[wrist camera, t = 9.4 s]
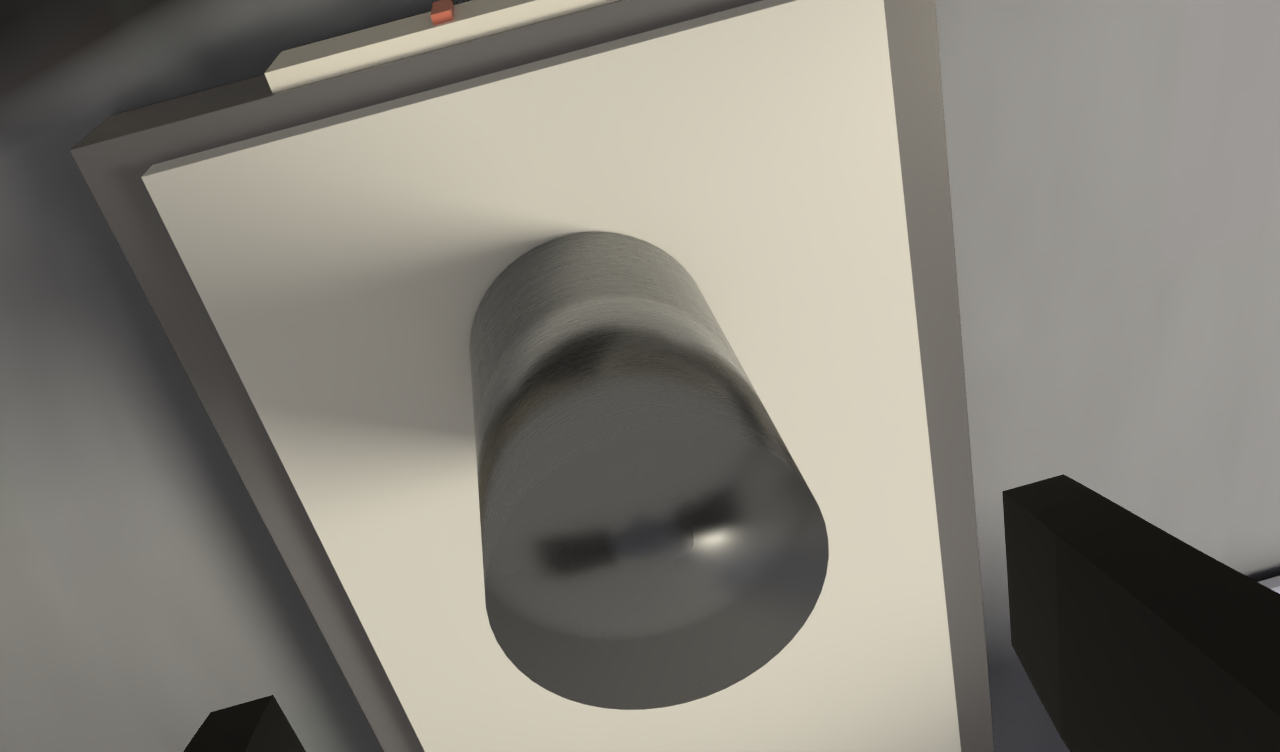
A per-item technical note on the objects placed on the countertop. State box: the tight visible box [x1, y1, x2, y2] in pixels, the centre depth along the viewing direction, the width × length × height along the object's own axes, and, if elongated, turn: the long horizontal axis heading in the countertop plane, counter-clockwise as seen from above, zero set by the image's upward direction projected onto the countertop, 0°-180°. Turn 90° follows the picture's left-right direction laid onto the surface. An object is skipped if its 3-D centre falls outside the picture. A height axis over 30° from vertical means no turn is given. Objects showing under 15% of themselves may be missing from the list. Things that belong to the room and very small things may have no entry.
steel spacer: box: [469, 232, 829, 710], centre depth 14 cm, size 4×4×6 cm
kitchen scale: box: [70, 0, 994, 752], centre depth 20 cm, size 13×20×3 cm, turn 12°
